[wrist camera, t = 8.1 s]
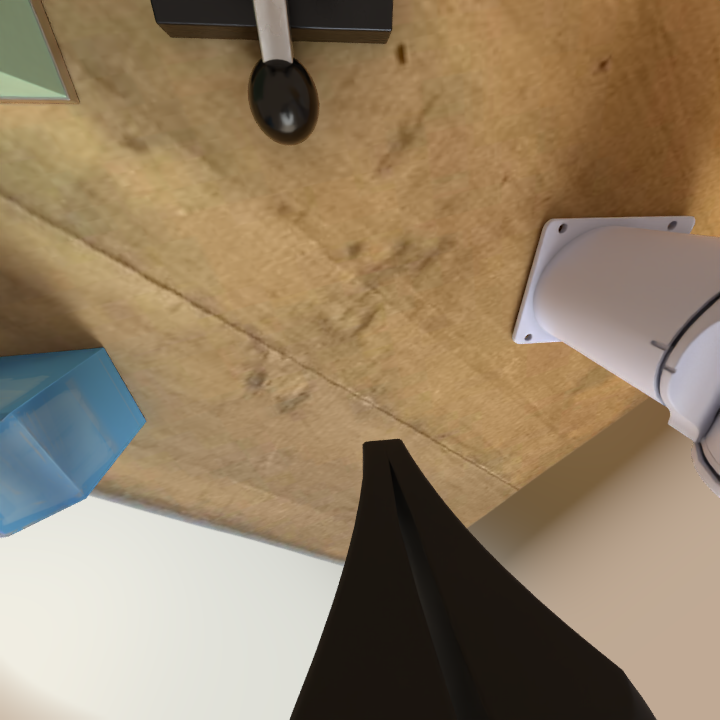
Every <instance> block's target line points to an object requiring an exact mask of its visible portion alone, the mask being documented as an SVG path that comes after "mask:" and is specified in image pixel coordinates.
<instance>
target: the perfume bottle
mask: <svg viewBox="0 0 720 720" xmlns="http://www.w3.org/2000/svg"><path fill="white" fill-rule="evenodd" d="M145 422H146V420H145V418H144V417H143V415H142V413H141V412H140V410H139V408H138V406H137V405H136V403H135V401H134V399H133V398H132V396H131V394H130V392H129V391H128V389H127V387H126V385H125V384H124V382H123V380H122V379H121V377H120V375H119V373H118V372H117V370H116V368H115V366H114V365H113V363H112V361H111V359H110V358H109V356H108V354H107V352H106V351H105V349H104V348H93V349H82V350H71V351H60V352H49V353H38V354H27V355H16V356H5V357H0V537H7V536H10V535H12V534H14V533H16V532H19V531H21V530H23V529H25V528H27V527H29V526H31V525H33V524H35V523H37V522H39V521H41V520H43V519H45V518H47V517H49V516H51V515H53V514H55V513H57V512H59V511H61V510H63V509H65V508H67V507H69V506H71V505H74V504H75V503H78V502H80V501H82V500H83V499H86V498H87V496H88V495H89V494H90V493H91V491H92V490H93V489H94V488H95V486H96V485H97V484H98V482H99V481H100V480H101V479H102V477H103V476H104V475H105V474H106V472H107V471H108V470H109V468H110V467H111V466H112V465H113V463H114V462H115V461H116V459H117V458H118V457H119V456H120V454H121V453H122V452H123V451H124V449H125V448H126V447H127V445H128V444H129V443H130V442H131V440H132V439H133V438H134V437H135V435H136V434H137V433H138V431H139V430H140V429H141V428H142V426H143V425H144V424H145Z"/></svg>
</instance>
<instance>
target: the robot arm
mask: <svg viewBox="0 0 720 720" xmlns="http://www.w3.org/2000/svg"><path fill="white" fill-rule="evenodd" d="M669 224H670V225H669ZM694 224H695V218H694V217H693V216H648V217H603V218H558V219H550V220H549V221H547V222H546V223H545V225H544V227H543V229H542V233H541V236H540V240H539V243H538V247H537V250H536V254H535V257H534V261H533V265H532V268H531V272H530V275H529V279H528V282H527V286H526V289H525V293H524V296H523V300H522V303H521V307H520V311H519V314H518V318H517V321H516V325H515V328H514V332H513V335H512V339H513V341H514V342H516V343H517V344H526V343H543V342H559V341H562V342H564V343H566V344H567V345H569V346H570V347H572V348H574V349H575V350H577V351H578V352H580V353H582V354H583V355H585V356H586V357H588V358H589V359H591V360H593V361H594V362H596V363H597V364H599V365H601V366H602V367H604V368H605V369H607V370H609V371H610V372H612V373H613V374H615V375H616V376H618V377H620V378H621V379H623V380H624V381H626V382H628V383H629V384H631V385H632V386H634V387H636V388H637V389H639V390H640V391H642V392H644V393H645V394H647V395H648V396H650V397H651V398H653V399H655V400H656V401H658V402H659V403H661V404H663V405H664V406H666V407H667V408H668V409H669V410H670V419H669V421H668V424H669V425H670V426H672V427H673V428H675V429H676V430H678V431H679V432H681V433H682V434H684V435H685V436H687V437H688V438H690V439H691V440H693V441H694V442H693V445H692V448H691V455H692V461H693V464H694V467H695V469H696V471H697V472H698V474H699V476H700V477H701V479H702V480H703V481H704V482H705V483H706V485H707V486H708V487H709V488H710V489H711V490H712V491H713V492H714V493H715V494H716V495H717V496H718V497H719V498H720V237H713V236H704V235H695V234H690V232H691V230H692V228H693V226H694ZM561 225H563V227H562V229H561V231H560V232H559V231H558V230H559V227H560V226H561ZM668 225H669V226H668ZM528 334H529V335H528ZM526 335H528V337H527V338H525V337H526ZM290 720H656V718H655V717H654V715H653V713H652V712H651V710H650V708H649V707H648V706H647V704H646V702H645V701H644V700H643V698H642V697H641V695H640V694H639V692H638V691H637V690H636V688H635V687H634V686H633V684H632V683H631V681H630V680H629V679H628V677H627V676H626V674H625V673H624V671H623V670H622V669H620V668H619V667H618V666H617V665H616V664H614V663H613V662H612V661H611V660H609V659H608V658H607V657H606V656H604V655H603V654H602V653H601V652H599V651H598V650H597V649H596V648H595V647H593V646H592V645H591V644H590V643H588V642H587V641H586V640H585V639H584V638H582V637H581V636H580V635H579V634H578V633H576V632H575V631H574V630H573V629H571V628H570V627H569V626H568V625H567V624H566V623H565V622H563V621H562V620H561V619H560V618H559V617H558V616H556V615H555V614H554V613H553V612H552V611H551V610H550V609H548V608H547V607H546V606H545V605H544V604H543V603H542V602H540V601H539V600H538V599H537V598H536V597H535V596H534V595H533V594H532V593H531V592H530V591H529V590H527V589H526V588H525V587H524V586H523V585H522V584H521V583H520V582H519V581H518V580H517V579H516V578H515V577H514V576H513V575H511V574H510V573H509V572H508V571H507V570H506V569H505V568H504V567H503V566H502V565H501V564H500V563H499V562H498V561H497V560H496V559H495V558H494V557H493V556H492V555H491V554H490V553H489V552H488V551H487V550H486V549H485V548H484V547H483V546H482V545H481V544H480V543H479V541H478V540H477V539H476V538H475V537H474V536H473V535H472V534H471V533H470V532H469V531H468V529H467V528H466V527H465V526H464V525H463V524H462V523H461V521H460V520H459V519H458V518H457V517H456V516H455V514H454V513H453V512H452V511H451V510H450V508H449V507H448V506H447V505H446V504H445V502H444V501H443V500H442V498H441V497H440V496H439V495H438V493H437V492H436V491H435V489H434V488H433V487H432V485H431V484H430V483H429V481H428V480H427V479H426V477H425V476H424V474H423V473H422V472H421V470H420V469H419V467H418V466H417V464H416V463H415V461H414V460H413V458H412V457H411V455H410V453H409V452H408V450H407V449H406V447H405V445H404V443H403V442H402V440H400V439H391V440H380V441H369V442H365V443H364V444H363V480H362V487H361V494H360V501H359V506H358V511H357V516H356V521H355V526H354V530H353V534H352V538H351V542H350V546H349V550H348V554H347V557H346V561H345V565H344V568H343V571H342V575H341V578H340V581H339V585H338V588H337V591H336V594H335V598H334V601H333V604H332V607H331V610H330V613H329V616H328V618H327V621H326V624H325V627H324V630H323V633H322V636H321V639H320V641H319V644H318V647H317V650H316V653H315V655H314V658H313V661H312V663H311V666H310V668H309V671H308V673H307V676H306V679H305V681H304V684H303V686H302V689H301V691H300V694H299V697H298V699H297V702H296V704H295V707H294V710H293V712H292V715H291V717H290Z"/></svg>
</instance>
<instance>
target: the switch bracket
mask: <svg viewBox="0 0 720 720" xmlns="http://www.w3.org/2000/svg"><path fill="white" fill-rule="evenodd" d="M150 1H151V5H152V8H153V12H154V16H155V20H156V23H157V24H158V25H159V26H160V27H161V28H162V29H163V30H164V31H165V32H166V33H167V34H168V35H169V36H170V37H176V38H210V39H245V40H259V38H258V32H257V26H256V20H255V14H254V8H253V3H252V0H150ZM288 8H289V17H290V27H291V36H292V41H313V42H347V43H382V44H386V43H387V41H388V39H389V36H390V34H391V31H392V17H393V0H288Z"/></svg>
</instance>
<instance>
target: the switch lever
mask: <svg viewBox="0 0 720 720" xmlns="http://www.w3.org/2000/svg"><path fill="white" fill-rule="evenodd" d="M252 3H253V8H254V14H255V20H256V26H257V32H258V38H259V44H260V50H261V55H262V58H261V59H260V60H259V61H258V62H257V63H256V65H255V66H254V68H253V70H252V72H251V75H250V78H249V83H248V99H249V105H250V109H251V112H252V115H253V117H254V119H255V121H256V123H257V124H258V126H259V127H260V129H261V130H262V131H263V132H264V133H265V134H266V135H267V136H268V137H269V138H270V139H272V140H273V141H275V142H277V143H279V144H283V145H296V144H299V143H302V142H303V141H305V140H306V139H307V138H308V137H309V136H310V135H311V134H312V132H313V130H314V128H315V126H316V123H317V120H318V115H319V99H318V93H317V90H316V86H315V84H314V81H313V79H312V77H311V75H310V74H309V72H308V71H307V69H306V68H305V67H304V66H303V65H302V64H301V63H300V62H299V61H298V60H297V59H295V58H294V54H293V45H292V36H291V27H290V17H289V8H288V0H252Z"/></svg>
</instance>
